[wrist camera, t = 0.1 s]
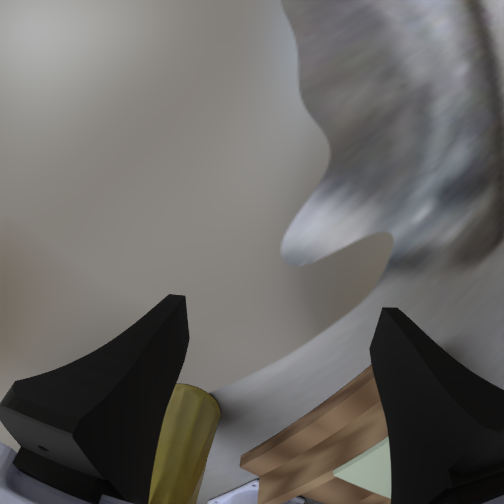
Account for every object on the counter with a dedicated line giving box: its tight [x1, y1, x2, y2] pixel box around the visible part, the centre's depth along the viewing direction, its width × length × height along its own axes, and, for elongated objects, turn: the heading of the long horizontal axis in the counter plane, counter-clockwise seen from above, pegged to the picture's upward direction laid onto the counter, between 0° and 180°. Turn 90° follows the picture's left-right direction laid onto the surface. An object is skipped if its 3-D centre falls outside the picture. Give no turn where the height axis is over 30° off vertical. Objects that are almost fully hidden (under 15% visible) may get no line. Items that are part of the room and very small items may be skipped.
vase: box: [148, 384, 221, 504], centre depth 20 cm, size 6×6×14 cm
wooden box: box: [240, 365, 391, 504], centre depth 24 cm, size 20×20×5 cm
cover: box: [333, 437, 391, 499], centre depth 20 cm, size 9×15×2 cm, turn 49°
